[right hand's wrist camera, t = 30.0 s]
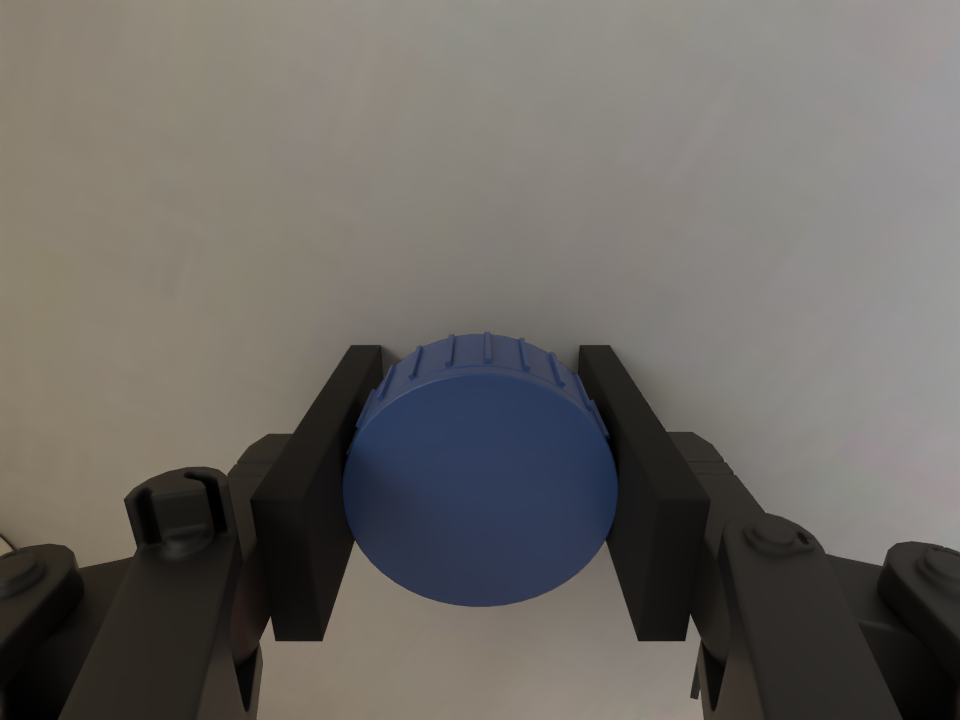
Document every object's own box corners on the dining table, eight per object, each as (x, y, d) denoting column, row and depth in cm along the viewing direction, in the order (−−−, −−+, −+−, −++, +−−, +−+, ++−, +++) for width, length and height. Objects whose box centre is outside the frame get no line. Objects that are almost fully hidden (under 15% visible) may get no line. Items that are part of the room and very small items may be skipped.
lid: (397, 295, 11) (378, 328, 9) (639, 374, 11) (672, 421, 10) (336, 504, 13) (308, 571, 11) (548, 563, 13) (560, 636, 11)
